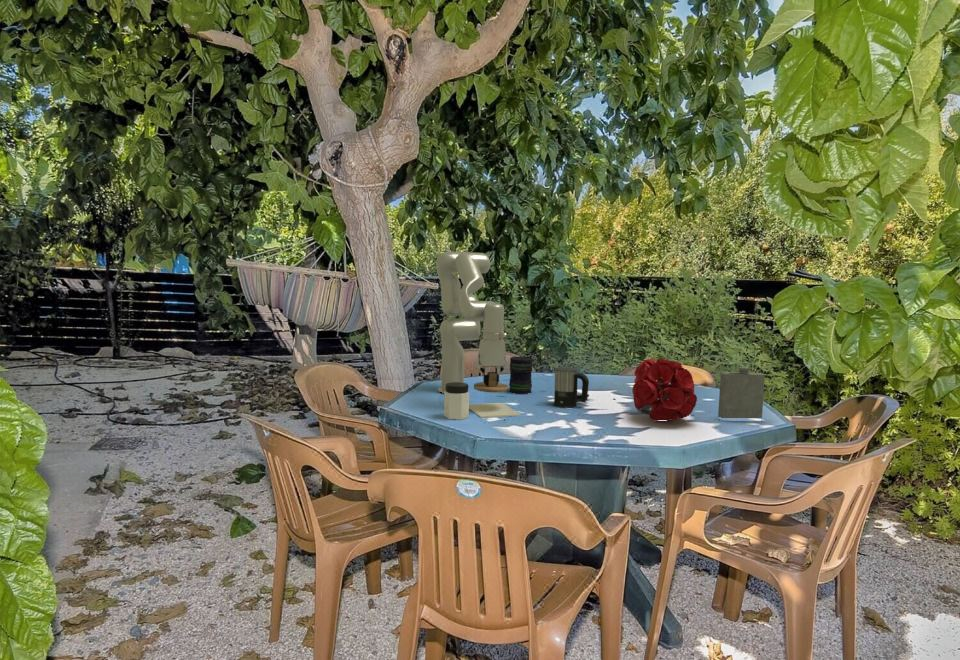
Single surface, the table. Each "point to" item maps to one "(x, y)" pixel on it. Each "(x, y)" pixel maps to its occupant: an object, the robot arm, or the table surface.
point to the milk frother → (569, 387)
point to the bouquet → (664, 389)
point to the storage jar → (520, 375)
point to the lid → (491, 385)
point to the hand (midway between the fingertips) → (490, 384)
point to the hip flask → (741, 394)
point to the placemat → (492, 410)
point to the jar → (456, 401)
